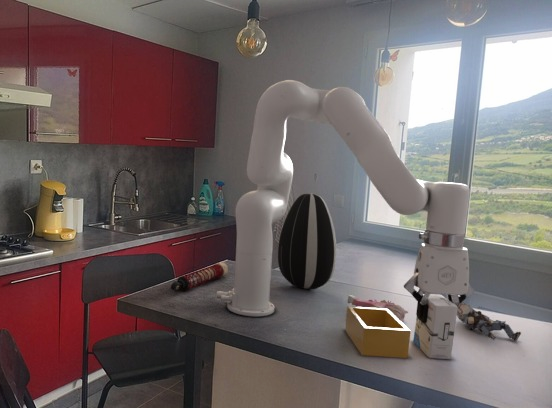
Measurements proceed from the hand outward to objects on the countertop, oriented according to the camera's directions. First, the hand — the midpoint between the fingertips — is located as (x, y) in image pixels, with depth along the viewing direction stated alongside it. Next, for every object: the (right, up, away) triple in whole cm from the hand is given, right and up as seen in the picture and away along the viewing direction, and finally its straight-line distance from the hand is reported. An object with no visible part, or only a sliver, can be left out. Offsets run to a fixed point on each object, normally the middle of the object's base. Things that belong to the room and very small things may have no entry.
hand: (435, 320), depth 99 cm
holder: (-12, -6, +3) cm, 14 cm away
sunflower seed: (-20, -1, +44) cm, 48 cm away
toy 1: (-6, -4, +21) cm, 22 cm away
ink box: (0, -7, +1) cm, 7 cm away
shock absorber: (-52, 0, +43) cm, 67 cm away
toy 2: (+18, -6, +14) cm, 24 cm away
